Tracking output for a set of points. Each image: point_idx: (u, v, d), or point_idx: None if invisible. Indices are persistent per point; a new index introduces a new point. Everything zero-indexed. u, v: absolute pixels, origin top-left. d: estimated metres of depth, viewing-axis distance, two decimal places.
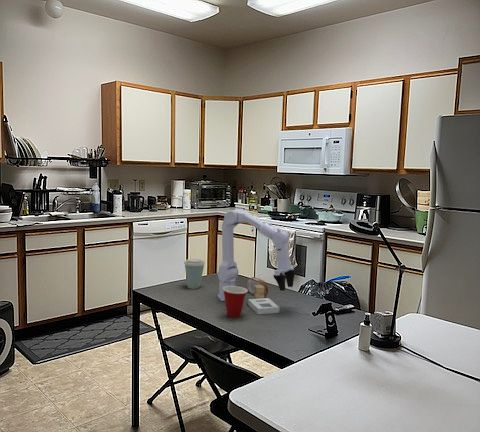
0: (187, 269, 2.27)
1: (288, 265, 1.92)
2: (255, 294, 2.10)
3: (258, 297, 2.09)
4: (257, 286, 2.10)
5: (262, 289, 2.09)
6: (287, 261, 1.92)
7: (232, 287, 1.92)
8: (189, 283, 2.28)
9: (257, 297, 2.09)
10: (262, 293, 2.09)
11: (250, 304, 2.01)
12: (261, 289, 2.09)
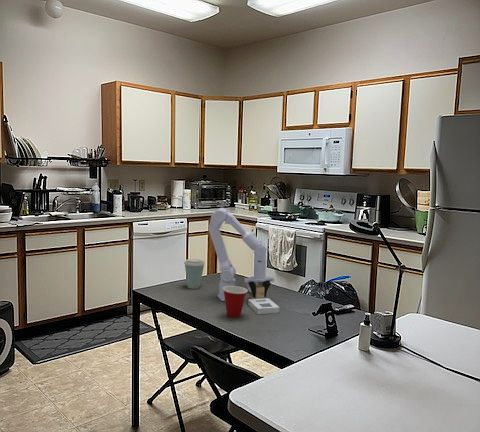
0: (187, 269, 2.27)
1: (259, 276, 2.07)
2: (255, 294, 2.10)
3: (258, 297, 2.09)
4: (257, 286, 2.10)
5: (262, 289, 2.09)
6: (259, 273, 2.07)
7: (232, 287, 1.92)
8: (189, 283, 2.28)
9: (257, 297, 2.09)
10: (262, 293, 2.09)
11: (250, 304, 2.01)
12: (261, 289, 2.09)
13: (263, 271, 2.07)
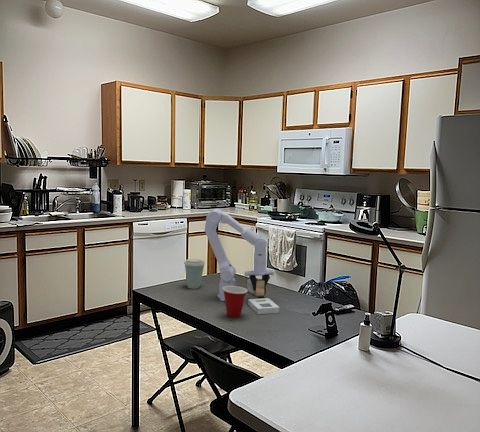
0: (187, 269, 2.27)
1: (259, 270, 2.07)
2: None
3: (258, 291, 2.08)
4: (257, 280, 2.10)
5: (262, 283, 2.09)
6: (259, 266, 2.07)
7: (232, 287, 1.92)
8: (189, 283, 2.28)
9: (257, 291, 2.08)
10: (262, 287, 2.09)
11: (250, 304, 2.01)
12: (261, 282, 2.08)
13: (263, 265, 2.07)
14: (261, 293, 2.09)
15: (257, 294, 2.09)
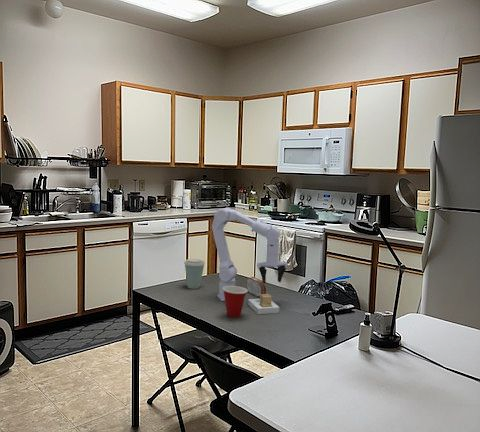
0: (187, 269, 2.27)
1: (272, 261, 2.02)
2: (261, 304, 1.95)
3: None
4: (263, 295, 1.96)
5: (269, 298, 1.94)
6: (272, 257, 2.01)
7: (232, 287, 1.92)
8: (189, 283, 2.28)
9: None
10: (269, 303, 1.95)
11: (250, 304, 2.01)
12: (267, 298, 1.94)
13: (276, 256, 2.02)
14: None
15: None
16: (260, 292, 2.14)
